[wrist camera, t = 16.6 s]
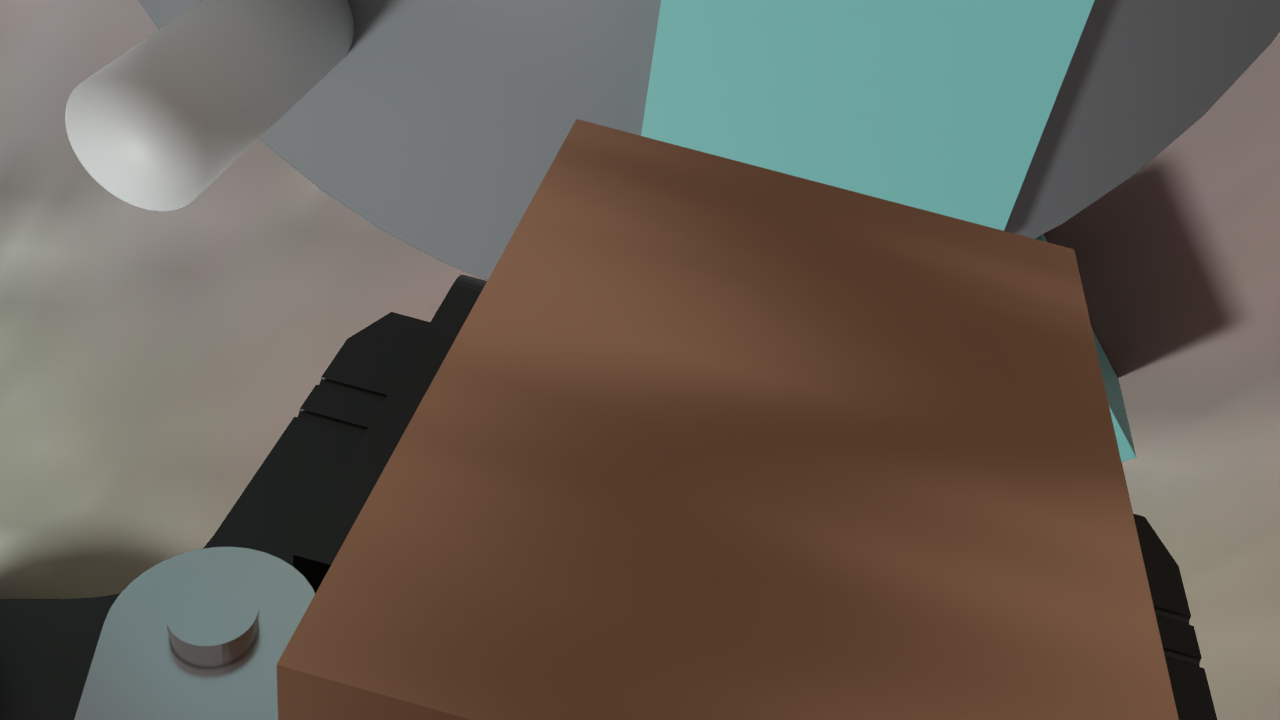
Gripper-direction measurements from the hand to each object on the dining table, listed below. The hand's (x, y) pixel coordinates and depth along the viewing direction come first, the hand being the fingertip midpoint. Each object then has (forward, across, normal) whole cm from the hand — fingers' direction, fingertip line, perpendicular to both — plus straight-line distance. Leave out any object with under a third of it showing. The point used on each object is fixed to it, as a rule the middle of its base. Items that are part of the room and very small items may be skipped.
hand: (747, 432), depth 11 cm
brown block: (+1, 0, 0) cm, 1 cm away
